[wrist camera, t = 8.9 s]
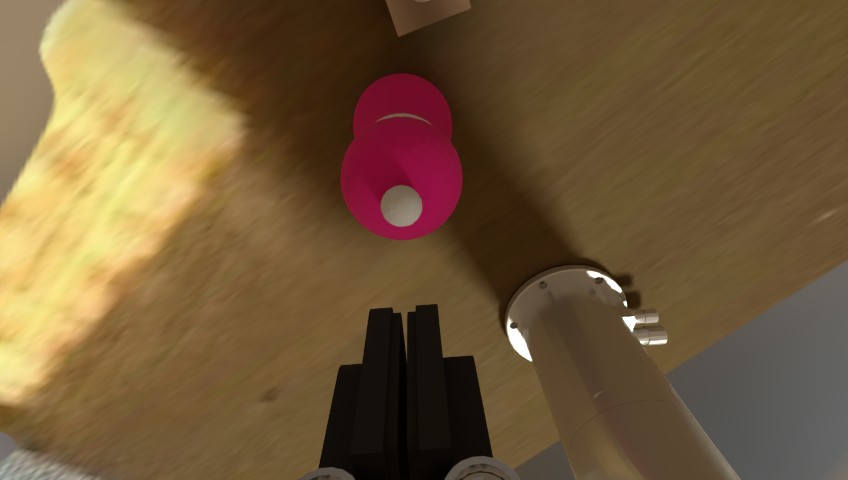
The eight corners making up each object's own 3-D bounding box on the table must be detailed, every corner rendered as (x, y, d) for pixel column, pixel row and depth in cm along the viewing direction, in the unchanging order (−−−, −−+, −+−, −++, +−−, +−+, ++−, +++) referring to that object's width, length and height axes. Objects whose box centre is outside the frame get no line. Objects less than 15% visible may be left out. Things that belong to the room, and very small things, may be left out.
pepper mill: (388, 47, 33) (369, 85, 15) (464, 100, 35) (525, 189, 17) (342, 126, 36) (281, 238, 18) (416, 172, 38) (425, 312, 20)
